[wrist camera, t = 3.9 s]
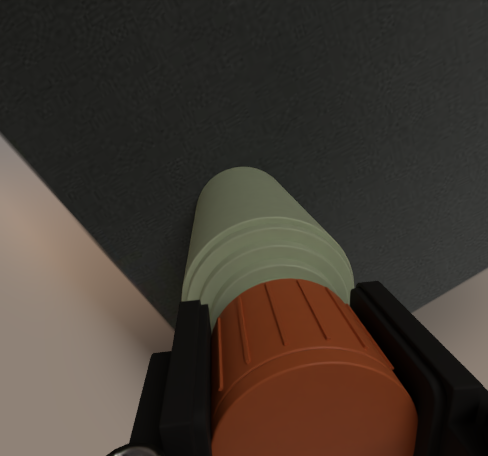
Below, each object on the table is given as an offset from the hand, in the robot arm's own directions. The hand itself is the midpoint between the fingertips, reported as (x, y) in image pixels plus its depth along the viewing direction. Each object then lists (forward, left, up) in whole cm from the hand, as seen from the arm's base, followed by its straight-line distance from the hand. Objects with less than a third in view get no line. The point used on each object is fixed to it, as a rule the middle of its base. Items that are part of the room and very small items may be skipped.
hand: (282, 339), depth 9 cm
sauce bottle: (0, 0, -13) cm, 13 cm away
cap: (0, 0, 0) cm, 0 cm away
